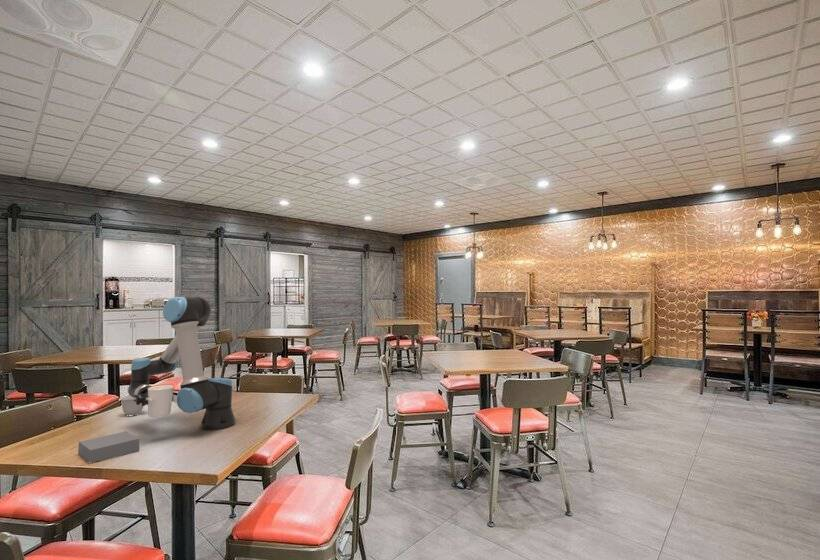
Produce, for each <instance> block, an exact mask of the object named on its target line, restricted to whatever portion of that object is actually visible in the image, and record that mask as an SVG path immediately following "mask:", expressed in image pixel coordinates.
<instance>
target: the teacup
mask: <svg viewBox="0 0 820 560" xmlns="http://www.w3.org/2000/svg"><path fill="white" fill-rule="evenodd" d="M119 399H120V400H121V401H120V402H121V406H122V413H124V414H126V415H128V416H127V417H130V416H129V415H136V416H138V415H137V414H139V415H140V412H141V411H143V409H144V406H142V403H140V404H139V405H137V404H136V401H134V398H133V397H131V396H130V395H129V394H128V395H124V396H121V397H120V398H119ZM145 406H147V405H146V404H145Z"/></svg>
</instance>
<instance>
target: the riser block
mask: <svg viewBox="0 0 820 560" xmlns="http://www.w3.org/2000/svg"><path fill="white" fill-rule="evenodd" d="M77 450H78V453H77V455H78V454H79V455H78V456H80V457H81V456H82V457H83V458H84V459H83V458H82V457H81V458H82V459H83V460H84V461H86V460H87V461H88V462H90V463H91V462H95V463H97V462H96V461H99V462H101V461H100V460H103V461H106V460H105V459H107V460H110V459H109V458H111V459H113V457H114V458H119V457H122V456H126V455H129V454H133V453H137V452H139V451H140V437H137V436H136V435H134V434H132V433H130V432H128V431H121V432H116V433H113V434H112V433H111V434H107V435H103V436H98V437H94V438H89V439H84V440H80V441H78V449H77ZM87 461H86V462H87ZM88 462H87V463H88ZM90 463H89V464H90ZM91 464H92V463H91Z"/></svg>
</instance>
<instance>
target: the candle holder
mask: <svg viewBox="0 0 820 560" xmlns="http://www.w3.org/2000/svg"><path fill="white" fill-rule="evenodd" d="M173 392H174V385H171V384H165V385H163V384H162V385H155V386H152V387H149V388H148V399H152V400H153V407H150V406H148V405H147V412H148V413H147V415H148V417H149V418H161V417H165V416H169V415H170V414H171V412H172V404H173V403H172V402H173V401H172V396H173Z"/></svg>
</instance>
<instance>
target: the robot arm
mask: <svg viewBox="0 0 820 560" xmlns="http://www.w3.org/2000/svg"><path fill="white" fill-rule="evenodd" d="M211 314H212V306H211V303H210V302H209V301H208V300H207V299H205V298H203V297H202V296H201V297H200V296H174V297H171V298H169V299H168V300H167V301H166V302H165V304H164V305H163V310H162V315H163V318H164V320H166V321H167V322H169V323H170V326H171V328H172V329H174V331H175V335H174V337H173V338H172V340H171V341H170V342H169V344H168V346H167V347H166V348H165V350H164V351H163V352H162V354H161V355H160V357H159V358H158V359H154V360H151V358H150V357H136V358H133V360H132V361H131V368H130V371H131V372H130V374H131V375H130V376H131V377H130V384H129V386H128V387H127V394H128V395H130V396H131V397H133V398H134V401H136V404H137V405H139V404H140V403H142V406H143V407H145V406H147V407H148V406H150V407H153V400H152V399H148V388H149V387H153V386H152V385H150V379H151V378H150V377H152V376H157V375H162V374H164V375H165V374H169V373H170V372H171V373H172V372H174V371H175V370H176V369H177V367H178V362H177V361H178V359H180V368H181V374H182V382H181V384H180V385H179V387H180V389H179V390H178V392H175V391H173V396H172V402H173V403H176V405H177V407H178V409H180V410H181V411H182V412H184V413H186V414H192V413H199V412H200V411H204V410H205V411H204V414H203V417H202V420H201V422H200V428H201V430H202V429H203V430H209V431H210V430H212V431H213V430H221V429H225V428H226V427H227V428H230V427H232V426H234V425H235V423H236V417H235V414H234V412H233V409H232V400H233V399H232V398H233V397H232V396H233V381H232V379H230V378H229V377H228V378H227V377H226V378H225V377H211V378H210V377H209V378H208V377H207V376H205V373H204V369H203V368H204V366H203V361H202V354H201V348H200V343H199V336H198V331H199V330H200V329H201V327H205V326H206V324H207V322H208V321H209V319H210V317H211ZM145 404H146V405H145ZM229 426H230V427H229ZM227 428H226V429H227Z"/></svg>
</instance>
